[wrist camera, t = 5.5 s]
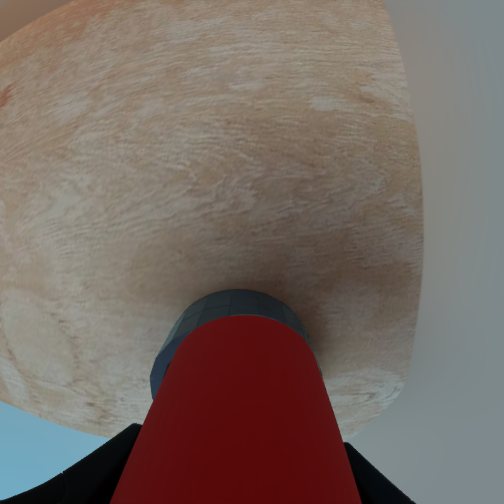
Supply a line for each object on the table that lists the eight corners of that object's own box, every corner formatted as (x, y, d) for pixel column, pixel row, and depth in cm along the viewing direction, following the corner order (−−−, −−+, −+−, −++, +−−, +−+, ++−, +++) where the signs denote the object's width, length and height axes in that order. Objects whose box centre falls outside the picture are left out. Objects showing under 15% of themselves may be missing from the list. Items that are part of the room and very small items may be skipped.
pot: (320, 295, 20) (341, 330, 15) (296, 407, 22) (304, 453, 17) (171, 281, 20) (144, 311, 15) (173, 396, 22) (157, 440, 17)
